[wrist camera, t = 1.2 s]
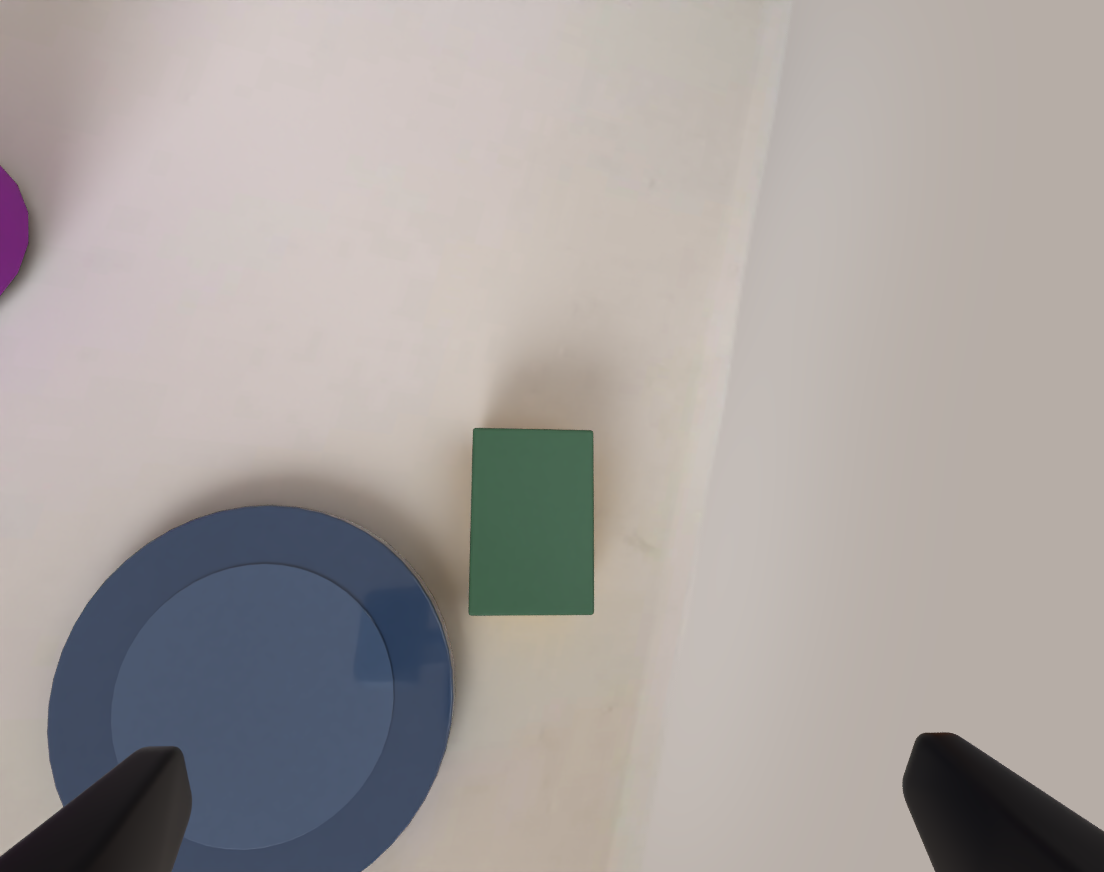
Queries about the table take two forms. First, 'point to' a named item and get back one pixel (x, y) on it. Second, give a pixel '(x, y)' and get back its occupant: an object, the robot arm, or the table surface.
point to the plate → (264, 687)
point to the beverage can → (11, 229)
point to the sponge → (532, 522)
